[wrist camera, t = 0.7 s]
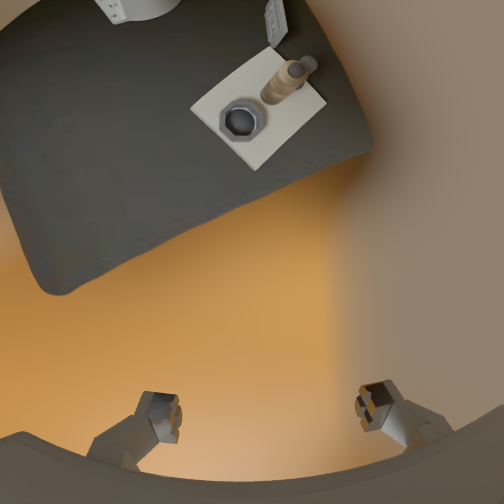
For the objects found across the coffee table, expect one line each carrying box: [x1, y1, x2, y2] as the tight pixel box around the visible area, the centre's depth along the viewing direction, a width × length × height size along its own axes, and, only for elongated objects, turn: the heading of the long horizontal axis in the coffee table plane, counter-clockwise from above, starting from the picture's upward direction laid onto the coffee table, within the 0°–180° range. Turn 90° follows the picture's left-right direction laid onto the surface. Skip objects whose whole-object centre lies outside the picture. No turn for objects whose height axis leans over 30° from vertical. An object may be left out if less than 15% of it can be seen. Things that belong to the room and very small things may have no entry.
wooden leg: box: [260, 60, 308, 106], centre depth 37 cm, size 4×4×13 cm
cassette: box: [265, 0, 288, 48], centre depth 37 cm, size 12×2×8 cm, turn 5°
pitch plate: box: [191, 46, 327, 171], centre depth 40 cm, size 16×20×10 cm
